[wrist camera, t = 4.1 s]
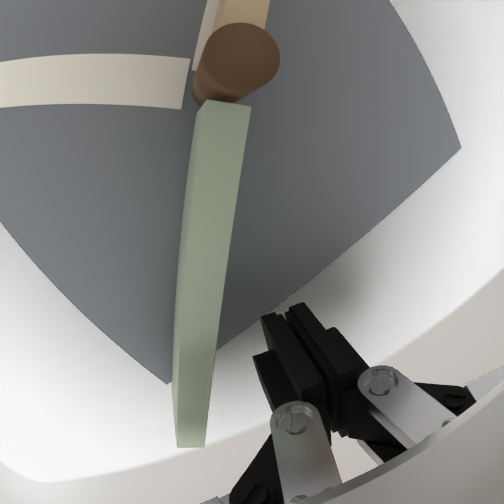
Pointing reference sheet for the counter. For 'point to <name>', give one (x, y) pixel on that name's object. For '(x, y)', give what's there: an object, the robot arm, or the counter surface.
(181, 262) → the fence hinged panel
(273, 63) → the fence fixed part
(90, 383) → the counter surface
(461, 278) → the counter surface
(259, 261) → the board
